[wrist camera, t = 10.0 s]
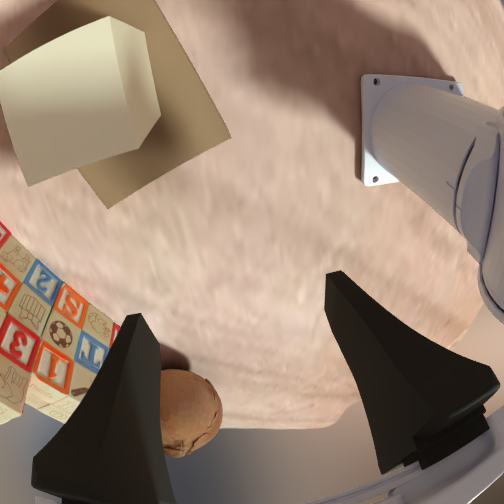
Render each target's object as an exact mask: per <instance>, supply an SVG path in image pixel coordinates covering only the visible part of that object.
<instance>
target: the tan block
mask: <svg viewBox="0 0 504 504" xmlns="http://www.w3.org/2000/svg"><path fill="white" fill-rule="evenodd" d="M108 16H111V17H113V18H115V19H117V20H119V21H122V22H124V23H126V24H128V25H130V26H132V27H134V28H136V29H139V30H141V31H143V32H145V38H146V43H147V49H148V54H149V59H150V65H151V70H152V75H153V80H154V84H155V89H156V94H157V99H158V103H159V108H160V112H161V116H160V117H159V119H158V120H157V122H156V123H155V125H154V126H153V127H152V129H151V130H150V132H149V133H148V135H147V136H146V138H145V139H144V141H143V142H142V144H141V146H140V147H139V149H136V150H132V151H129V152H125V153H122V154H118V155H115V156H112V157H109V158H105V159H102V160H99V161H96V162H93V163H90V164H87V165H84V166H81V167H79V168H77V169H78V170H79V172H80V173H81V174H82V176H83V177H84V178H85V180H86V181H87V182H88V184H89V185H90V186H91V188H92V189H93V190H94V192H95V193H96V194H97V196H98V197H99V198H100V200H101V201H102V202H103V204H104V205H105V206H106V207H107V209H109V208H111V207H112V206H114V205H115V204H117V203H118V202H120V201H121V200H123V199H124V198H126V197H128V196H129V195H131V194H132V193H134V192H135V191H137V190H139V189H140V188H142V187H144V186H145V185H147V184H148V183H150V182H152V181H153V180H155V179H157V178H158V177H160V176H162V175H164V174H165V173H167V172H169V171H170V170H172V169H174V168H176V167H177V166H179V165H181V164H183V163H185V162H186V161H188V160H190V159H192V158H194V157H195V156H197V155H199V154H201V153H203V152H205V151H207V150H209V149H210V148H212V147H214V146H216V145H218V144H220V143H222V142H224V141H226V140H228V139H230V138H231V136H230V133H229V131H228V128H227V126H226V124H225V123H224V121H223V119H222V117H221V115H220V113H219V111H218V110H217V108H216V106H215V104H214V102H213V100H212V99H211V97H210V95H209V93H208V91H207V90H206V88H205V86H204V84H203V82H202V81H201V79H200V77H199V75H198V73H197V72H196V70H195V68H194V66H193V65H192V63H191V61H190V59H189V58H188V56H187V54H186V52H185V51H184V49H183V47H182V45H181V44H180V42H179V40H178V38H177V37H176V35H175V33H174V32H173V30H172V28H171V27H170V25H169V23H168V21H167V20H166V18H165V16H164V15H163V13H162V11H161V10H160V8H159V6H158V5H157V3H156V1H155V0H59V1H57V2H56V3H55V4H54V5H52V6H51V7H50V8H49V9H48V10H46V11H45V12H44V13H43V14H42V15H41V16H39V17H38V18H37V19H36V20H35V21H34V22H33V23H32V24H31V25H30V26H29V27H28V28H26V29H25V30H24V31H23V32H22V33H21V34H20V35H19V36H18V37H17V38H16V39H15V40H14V41H13V42H12V43H11V44H10V46H9V47H8V48H7V49H6V50H5V51H4V52H5V54H6V56H7V58H8V60H9V62H10V63H13V62H15V61H16V60H18V59H19V58H21V57H23V56H24V55H26V54H28V53H30V52H31V51H33V50H35V49H37V48H39V47H41V46H42V45H44V44H46V43H48V42H50V41H52V40H54V39H56V38H58V37H60V36H62V35H64V34H67V33H69V32H71V31H73V30H75V29H78V28H80V27H82V26H85V25H87V24H90V23H92V22H95V21H97V20H100V19H102V18H105V17H108Z"/></svg>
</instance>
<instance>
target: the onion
mask: <svg viewBox="0 0 504 504" xmlns="http://www.w3.org/2000/svg"><path fill="white" fill-rule="evenodd" d="M222 416H223V409H222V403H221V400H220V398H219V396H218V394H217V392H216V390H215V389H214V387H213V386H212V384H211V383H210V382H209V380H207V379H205V380H204V379H203V378H202V377H200V376H199V375H197V374H195V373H192V372H189V371H186V370H183V369H181V368H180V370H178V369H165V370H161V390H160V425H161V434H162V442H163V448H164V454H167V456H169V455H170V456H172V457H182V456H184V455H185V454H191V452H192V451H194V450H196V449H198V448H200V447H201V446H203V445H205V444H206V443H207V442H209V441H210V440H211V439H212V438H213V437H214V436H215V435H216V434H217V432H218V430H219V428H220V426H221V423H222Z"/></svg>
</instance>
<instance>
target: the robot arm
mask: <svg viewBox="0 0 504 504" xmlns="http://www.w3.org/2000/svg"><path fill="white" fill-rule="evenodd" d="M375 78H376V79H377V83H376V85H374V83H373V81H374V79H375ZM449 87H450V88H449ZM361 101H362V170H361V181H362V183H363V184H364V185H365V186H375V185H382V184H388V183H395V182H401V183H403V184H404V185H405V186H406V187H408V188H409V189H410V190H411V191H413V192H414V193H415V194H416V195H417V196H419V197H420V198H421V199H422V200H423V201H425V202H426V203H427V204H428V205H429V206H430V207H432V208H433V209H434V210H435V211H436V212H437V213H438V214H440V215H441V216H442V217H443V218H444V219H445V220H446V221H447V222H448V223H449V224H450V225H452V226H453V227H454V228H455V229H456V230H457V231H458V232H459V233H460V234H461V235H462V236H463V237H464V238H465V239H466V241H467V245H468V246H467V251H468V252H469V253H470V254H471V256H472V257H473V258H474V259H475V260H476V261H477V262H478V263H479V264H480V265H479V269H478V287H479V290H480V294H481V296H482V299H483V301H484V303H485V304H486V306H487V308H488V309H489V310H490V312H491V313H492V314H493V315H494V316H495V317H496V318H497V319H498V320H499V321H500V322H502V323H503V324H504V106H503V107H502V108H501V109H500V110H498V109H495V108H493V107H491V106H488V105H486V104H483V103H481V102H478V101H476V100H473V99H470V98H467V97H465V96H463V85H462V84H461V83H459V82H455V81H448V80H441V79H433V78H424V77H414V76H402V75H384V74H364V75H363V76H362V78H361ZM375 176H376V178H375V180H373V181H372V179H373V177H375ZM324 310H325V313H326V316H327V319H328V322H329V324H330V327H331V330H332V333H333V335H334V337H335V339H336V341H337V343H338V345H339V347H340V349H341V351H342V353H343V355H344V358H345V360H346V362H347V364H348V366H349V368H350V370H351V372H352V374H353V377H354V379H355V381H356V384H357V387H358V390H359V393H360V396H361V399H362V402H363V405H364V408H365V411H366V415H367V418H368V421H369V426H370V429H371V433H372V437H373V441H374V445H375V450H376V455H377V460H378V466H379V469H380V471H381V474H382V475H383V474H386V473H388V472H390V471H393V470H395V469H397V468H399V467H401V466H404V468H402V469H400V470H398V471H395V472H393V473H391V474H388V475H386V476H384V477H381V478H379V479H377V480H374V481H371V482H369V483H366V484H363V485H361V486H358V487H355V488H352V489H349V490H347V491H343V492H340V493H337V494H334V495H330V496H327V497H324V498H320V499H316V500H313V501H308V502H304V503H301V504H356V503H359V502H362V501H364V500H367V499H370V498H372V497H375V496H377V495H380V494H382V493H385V492H387V491H389V490H390V491H389V493H388V496H387V497H386V498H383V499H380V500H377V501H375V502H372V503H370V504H469V503H470V502H471V501H472V500H473V499H475V498H476V497H477V496H478V495H479V494H481V493H482V492H483V491H484V490H485V489H486V488H488V487H489V486H490V485H491V484H492V483H493V482H494V481H495V480H496V479H497V478H499V477H500V476H501V475H502V474H503V473H504V405H503V406H502V407H501V408H499V409H498V410H497V411H496V412H494V413H493V414H491V415H490V416H489V417H487V418H486V419H485V417H484V415H483V414H484V413H485V412H486V409H485V407H484V405H483V404H484V403H485V402H486V401H487V400H488V399H489V398H490V397H492V396H493V395H494V394H495V393H496V392H497V391H498V389H499V388H500V382H499V381H498V379H497V377H496V375H495V374H494V372H493V371H492V369H491V368H490V366H487V365H485V364H482V363H479V362H476V361H473V360H470V359H468V358H466V357H463V356H461V355H458V354H456V353H454V352H452V351H450V350H448V349H446V348H444V347H442V346H440V345H439V344H437V343H435V342H433V341H431V340H429V339H428V338H426V337H424V336H423V335H421V334H419V333H418V332H416V331H415V330H413V329H412V328H410V327H409V326H407V325H406V324H404V323H403V322H402V321H400V320H399V319H398V318H396V317H395V316H394V315H392V314H391V313H390V312H389V311H387V310H386V309H385V308H384V307H382V306H381V305H380V304H379V303H378V302H376V301H375V300H374V299H373V298H372V297H370V296H369V295H368V294H367V293H366V292H365V291H364V290H362V289H361V288H360V287H359V286H358V285H357V284H356V283H355V282H354V281H352V280H351V279H350V278H349V277H348V276H347V275H346V274H345V273H344V272H342V271H341V270H340V271H336V272H332V273H328V274H326V287H325V306H324ZM160 390H161V358H160V346H159V343H158V341H157V339H156V338H155V336H154V334H153V333H152V331H151V330H150V328H149V326H148V325H147V323H146V321H145V319H144V318H143V316H142V314H141V313H138V314H132V315H127V316H126V318H125V320H124V322H123V324H122V326H121V328H120V330H119V332H118V334H117V336H116V338H115V340H114V342H113V344H112V346H111V348H110V350H109V352H108V354H107V356H106V358H105V360H104V362H103V364H102V366H101V368H100V370H99V371H98V373H97V375H96V377H95V379H94V381H93V382H92V384H91V386H90V388H89V389H88V391H87V393H86V394H85V396H84V397H83V399H82V401H81V402H80V404H79V405H78V406H77V408H76V409H75V411H74V412H73V413H72V415H71V416H70V417H69V419H68V420H67V421H66V423H65V424H64V425H63V427H62V428H61V429H60V430H59V431H58V433H57V434H56V435H55V436H54V437H53V438H52V440H50V442H49V443H48V444H47V445H46V446H45V447H44V448H43V449H41V450H40V451H39V452H38V453H37V454H36V456H34V457H33V465H32V479H31V485H32V486H33V487H34V488H35V489H38V490H40V491H43V492H46V493H48V494H51V495H54V496H57V497H60V498H62V503H59V502H55V501H52V500H48V499H44V498H41V497H38V496H37V497H36V500H35V502H36V503H35V504H176V500H175V497H174V494H173V490H172V487H171V483H170V479H169V475H168V470H167V466H166V460H165V454H164V448H163V442H162V434H161V425H160Z"/></svg>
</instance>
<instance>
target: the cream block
mask: <svg viewBox="0 0 504 504" xmlns="http://www.w3.org/2000/svg"><path fill="white" fill-rule="evenodd" d="M0 103H1V107H2V110H3V114H4V118H5V121H6V125H7V128H8V132H9V135H10V138H11V141H12V144H13V147H14V150H15V153H16V156H17V159H18V162H19V164H20V167H21V170H22V172H23V175H24V178H25V180H26V183H27V185H28V187H30V186H32V185H34V184H37V183H39V182H42V181H44V180H47V179H49V178H52V177H54V176H57V175H59V174H62V173H65V172H67V171H70V170H73V169H76V168H79V167H81V166H84V165H87V164H90V163H93V162H96V161H99V160H102V159H105V158H109V157H112V156H115V155H118V154H122V153H125V152H129V151H132V150H136V149H139V147H140V146H141V144H142V142H143V141H144V139H145V138H146V136H147V135H148V133H149V132H150V130H151V129H152V127H153V126H154V125H155V123H156V122H157V120H158V119H159V117H160V116H161V112H160V108H159V103H158V99H157V94H156V89H155V84H154V80H153V75H152V70H151V65H150V59H149V54H148V49H147V43H146V38H145V32H143V31H141V30H139V29H136V28H134V27H132V26H130V25H128V24H126V23H124V22H122V21H119V20H117V19H115V18H113V17H111V16H108V17H105V18H102V19H100V20H97V21H95V22H92V23H90V24H87V25H85V26H82V27H80V28H78V29H75V30H73V31H71V32H69V33H67V34H64V35H62V36H60V37H58V38H56V39H54V40H52V41H50V42H48V43H46V44H44V45H42V46H41V47H39V48H37V49H35V50H33V51H31V52H30V53H28V54H26V55H24V56H23V57H21V58H19V59H18V60H16V61H15V62H13V63H11V64H10V65H8V66H7V67H5V68H4V69H2V70H1V71H0Z"/></svg>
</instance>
